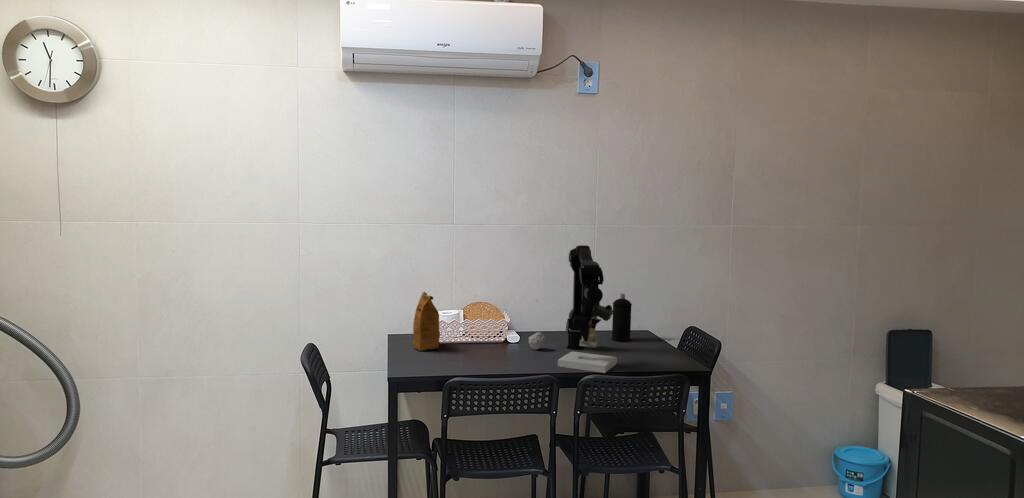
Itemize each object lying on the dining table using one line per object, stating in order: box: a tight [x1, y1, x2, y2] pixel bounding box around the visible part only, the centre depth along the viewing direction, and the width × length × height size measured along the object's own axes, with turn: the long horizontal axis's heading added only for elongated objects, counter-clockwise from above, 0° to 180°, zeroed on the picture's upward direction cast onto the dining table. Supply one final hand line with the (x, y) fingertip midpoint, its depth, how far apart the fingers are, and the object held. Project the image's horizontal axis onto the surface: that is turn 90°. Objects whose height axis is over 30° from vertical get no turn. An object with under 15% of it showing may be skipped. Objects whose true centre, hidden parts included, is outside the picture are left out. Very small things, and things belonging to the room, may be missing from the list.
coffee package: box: [412, 291, 441, 352], centre depth 286 cm, size 10×12×22 cm
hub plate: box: [557, 350, 618, 374], centre depth 265 cm, size 18×14×2 cm
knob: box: [580, 328, 598, 348], centre depth 264 cm, size 6×5×6 cm
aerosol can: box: [611, 293, 633, 343], centre depth 305 cm, size 8×8×20 cm
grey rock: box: [527, 332, 546, 351], centre depth 287 cm, size 6×7×7 cm
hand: (588, 340), depth 264 cm, fingers closed on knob, 5 cm apart
